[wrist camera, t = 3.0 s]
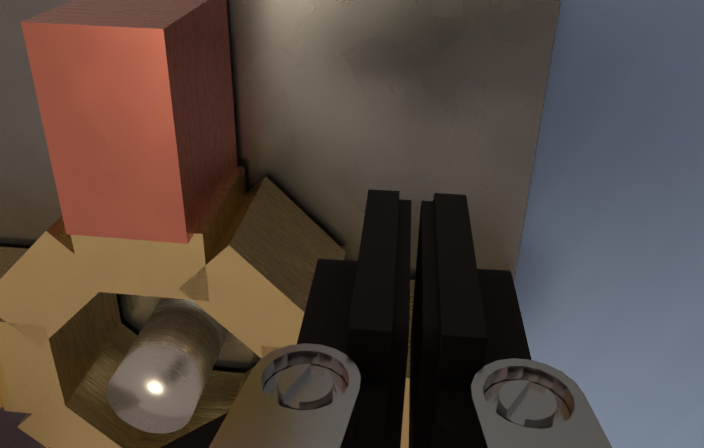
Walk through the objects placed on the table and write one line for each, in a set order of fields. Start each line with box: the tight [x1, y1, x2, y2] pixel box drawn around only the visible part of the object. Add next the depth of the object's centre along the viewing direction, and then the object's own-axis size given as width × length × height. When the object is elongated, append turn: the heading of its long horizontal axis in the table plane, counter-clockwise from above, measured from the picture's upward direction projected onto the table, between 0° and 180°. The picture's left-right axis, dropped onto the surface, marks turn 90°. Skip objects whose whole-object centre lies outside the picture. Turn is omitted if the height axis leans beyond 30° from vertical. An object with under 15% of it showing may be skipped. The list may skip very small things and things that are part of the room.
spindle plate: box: [0, 0, 560, 448], centre depth 22 cm, size 20×20×8 cm
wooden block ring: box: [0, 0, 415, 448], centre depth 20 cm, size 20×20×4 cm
